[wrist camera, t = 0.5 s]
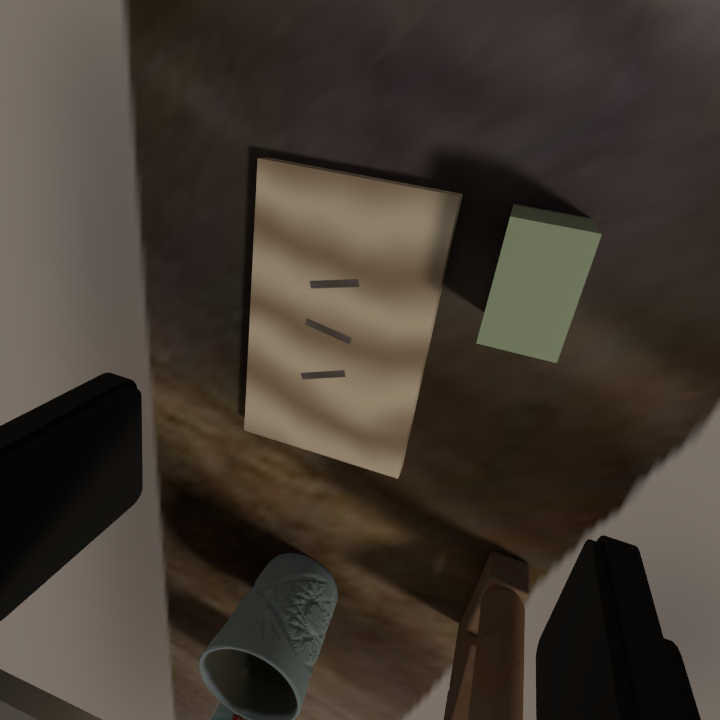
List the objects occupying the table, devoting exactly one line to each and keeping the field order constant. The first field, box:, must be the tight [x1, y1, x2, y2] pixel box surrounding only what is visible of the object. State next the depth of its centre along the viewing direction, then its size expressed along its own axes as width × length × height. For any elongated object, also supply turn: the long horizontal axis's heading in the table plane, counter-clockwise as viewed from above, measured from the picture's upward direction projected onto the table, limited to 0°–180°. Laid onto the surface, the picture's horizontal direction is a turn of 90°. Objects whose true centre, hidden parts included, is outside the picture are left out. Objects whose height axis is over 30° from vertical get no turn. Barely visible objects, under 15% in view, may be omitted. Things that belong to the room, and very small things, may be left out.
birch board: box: [244, 157, 463, 479], centre depth 41 cm, size 24×15×2 cm, turn 172°
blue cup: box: [199, 553, 338, 720], centre depth 51 cm, size 10×10×12 cm
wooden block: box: [444, 551, 530, 720], centre depth 40 cm, size 4×11×18 cm, turn 168°
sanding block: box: [477, 204, 602, 363], centre depth 33 cm, size 8×5×6 cm, turn 172°
